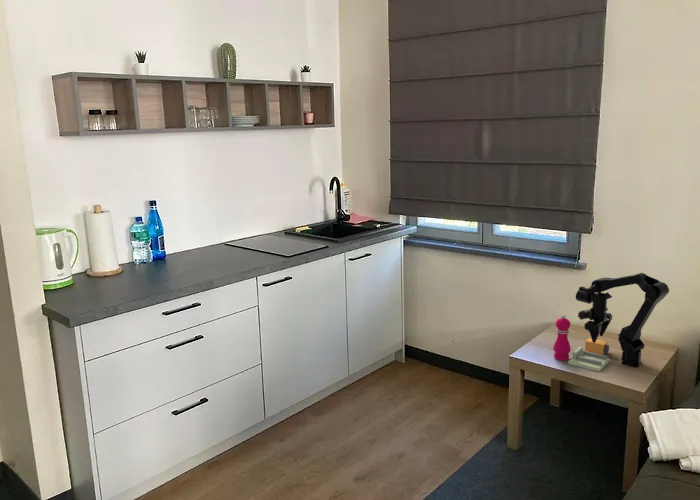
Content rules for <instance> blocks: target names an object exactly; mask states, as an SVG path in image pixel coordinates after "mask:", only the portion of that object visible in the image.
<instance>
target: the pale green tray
mask: <svg viewBox="0 0 700 500" xmlns="http://www.w3.org/2000/svg"><path fill="white" fill-rule="evenodd" d="M609 362H610V358H608V356H607V355H606V354H604V355H601V354H597V353H592V352H588V351H585V350H584V347H583V346H578V347H576V349H575V350H573V351H572V357H571V358H569V359H568V362H567V363H568V365H571V366H575V367H578V368H579V367H580V368H583V369H587V370H591V371H596V372H601V371H602V370H603V369H604V367H606V366H607V364H609Z"/></svg>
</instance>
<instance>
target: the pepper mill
mask: <svg viewBox="0 0 700 500" xmlns="http://www.w3.org/2000/svg"><path fill="white" fill-rule="evenodd" d="M555 327H556V332H557V337H556V340H555V342H554V344H553V352H554V354H553V357H554V359H555V360H558V361H563V362H564V361H569V360H570V353H571V352H572V351H571V345H570V342H569V339H568V334H569V332H570V327H571V322H570V320H569V319H568V318H566V315H564V314H561V316H560V318H557V319H556V321H555Z"/></svg>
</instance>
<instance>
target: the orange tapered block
mask: <svg viewBox="0 0 700 500" xmlns="http://www.w3.org/2000/svg"><path fill="white" fill-rule="evenodd" d="M584 351H588V352H592V353H597V354H601V355H606V354H608V353H609V352H610V345H609V344H608V341H605V340H602V339H597V340H596V342H595V343H594V342H592V338H591V337H588V338H587V339H586V340H585V343H584Z"/></svg>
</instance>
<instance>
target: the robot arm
mask: <svg viewBox="0 0 700 500" xmlns="http://www.w3.org/2000/svg"><path fill="white" fill-rule="evenodd" d="M632 285H637V286H638V288H640V290H641V291H642V292H644V301H643V303H642V305H641V306H640V307H639V309H638V311H637V313H636V315H635V316H634V318H633V320H632V321H631V323H630V324H629V325H627V326H624V327H622V328H621V331H620V333H619V334H617V336H618V337H617V339H618V342H619V344H620V348H621V361H622V362H621V365H626V366H629V367H634V368H638V367H639V366H640V365H641V364H642V362H643V361H642V359H641V358H642V350H643V349H644V348H645V343H644V342H643V341H642V339H641V336H642V330H643V327H644V326H645V324H646V323H647V320H649V317H650V316H651V315H652V313H653V311H654V309H655V308H656V306H657V304H659V303H660V302H661V301H663V300H664V299H665V297H666V296H667V295H668V294H669V292H670V288H669V286H668V284H666V282H662V281H660V280H659V279H657V278H654V277H651V276H649V275H648V274H646V273H644V272H639V273H636V274H630V275H627V276H626V275H625V276H620V277H619V276H618V277H613V278H612V277H601V278H598V279H594V280H592V282H591V285H590V286H589V287H585V286H579V287H578V290H577V291H576V294H575V300H576V301H577V302H581V303H586V304H588V305H589V304H592V307H591V308H589V309H584V310H580V311H578V313H577V317H578V319H579V320H586V319H589V320H588V321H587V322H585V323H584V324H583V325H584V326H583V328H584V330H586V331H588V332H589V334H590V338H592V342H594V343H595V342H596V340H598V337H603V336H604V334H605V332H606V331H607V329H608V327H609V325H610V323H611V321H612V320H613V314H612V313H610V312H607V311H608V309H609V308H608V307H607V302H608V300H609V299H611V298H612V297H613V296H612V295H611V294H610V293H609V292H605V291H608V290H611V289H614V288H618V287H626V286H632Z"/></svg>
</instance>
